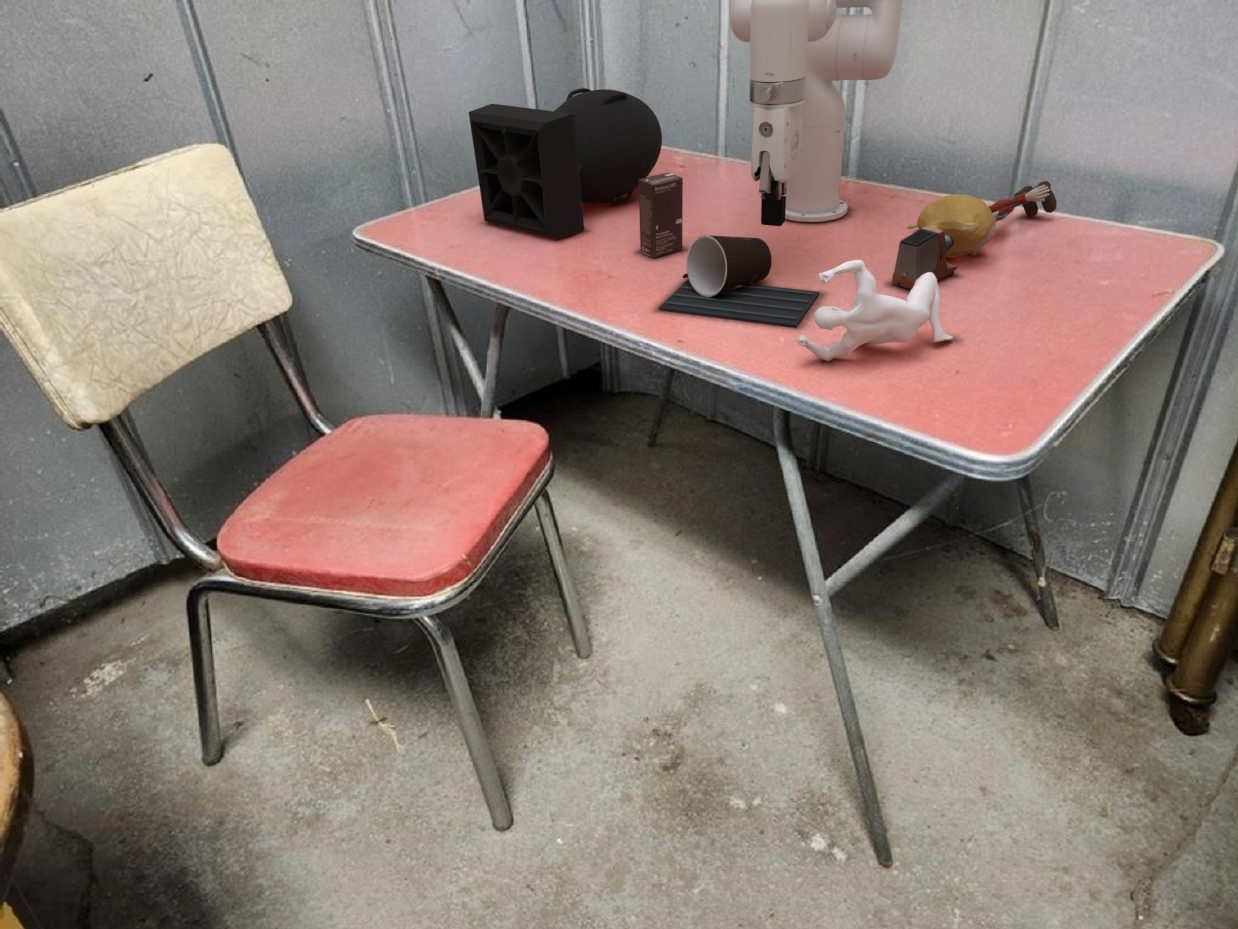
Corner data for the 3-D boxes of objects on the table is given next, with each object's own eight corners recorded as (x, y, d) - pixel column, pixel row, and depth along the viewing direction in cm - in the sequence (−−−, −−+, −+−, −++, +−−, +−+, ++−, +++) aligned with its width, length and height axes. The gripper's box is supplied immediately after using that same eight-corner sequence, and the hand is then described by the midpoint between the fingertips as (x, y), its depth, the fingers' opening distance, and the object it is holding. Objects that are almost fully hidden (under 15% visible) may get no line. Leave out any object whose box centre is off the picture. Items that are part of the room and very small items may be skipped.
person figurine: (892, 237, 112) (823, 255, 99) (983, 278, 106) (922, 302, 93) (855, 328, 119) (786, 355, 106) (938, 371, 113) (876, 405, 100)
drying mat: (689, 279, 133) (689, 275, 133) (819, 294, 125) (819, 289, 125) (658, 309, 124) (658, 305, 124) (796, 327, 116) (796, 322, 116)
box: (655, 259, 141) (652, 184, 135) (639, 252, 145) (636, 178, 138) (685, 250, 144) (683, 176, 138) (669, 243, 147) (666, 171, 141)
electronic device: (957, 274, 128) (965, 224, 124) (915, 293, 123) (921, 241, 119) (932, 267, 131) (938, 217, 127) (890, 285, 127) (895, 234, 122)
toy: (984, 236, 155) (885, 282, 139) (970, 181, 153) (868, 221, 137) (1114, 202, 137) (1017, 251, 121) (1100, 139, 135) (1000, 181, 119)
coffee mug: (781, 236, 125) (730, 241, 119) (773, 295, 129) (723, 303, 123) (725, 221, 133) (675, 225, 127) (719, 277, 137) (670, 284, 131)
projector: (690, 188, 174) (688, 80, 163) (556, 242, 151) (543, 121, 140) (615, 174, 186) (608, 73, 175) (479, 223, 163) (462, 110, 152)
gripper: (788, 104, 112) (782, 243, 122) (818, 81, 123) (811, 210, 133) (732, 103, 115) (732, 238, 125) (767, 80, 126) (763, 206, 136)
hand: (772, 223), depth 129 cm, fingers closed
